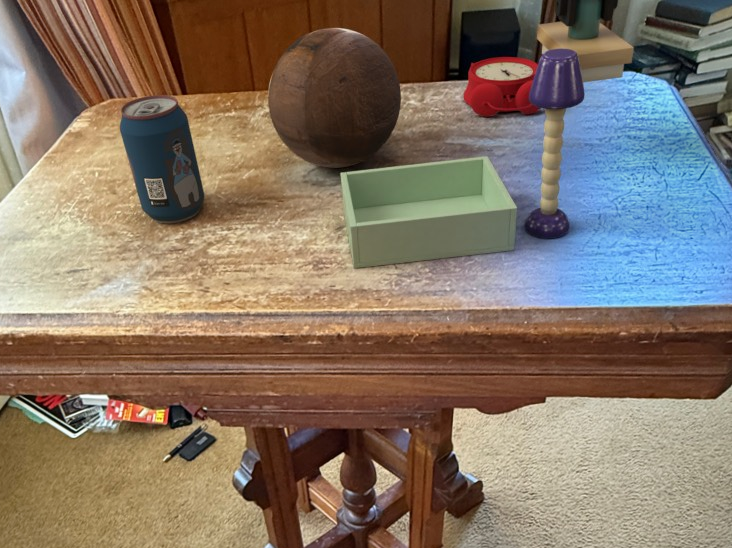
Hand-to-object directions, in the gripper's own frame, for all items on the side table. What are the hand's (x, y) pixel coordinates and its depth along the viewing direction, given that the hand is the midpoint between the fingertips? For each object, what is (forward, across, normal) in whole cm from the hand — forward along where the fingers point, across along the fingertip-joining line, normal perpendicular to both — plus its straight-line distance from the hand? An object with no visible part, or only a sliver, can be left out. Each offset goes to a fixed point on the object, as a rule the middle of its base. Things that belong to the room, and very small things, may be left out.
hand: (584, 18), depth 72 cm
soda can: (+14, -45, -2) cm, 47 cm away
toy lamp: (+15, -7, -14) cm, 22 cm away
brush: (+5, 0, 0) cm, 5 cm away
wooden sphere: (+15, -26, +6) cm, 30 cm away
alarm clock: (+15, -3, +18) cm, 24 cm away
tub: (+15, -19, -12) cm, 27 cm away
